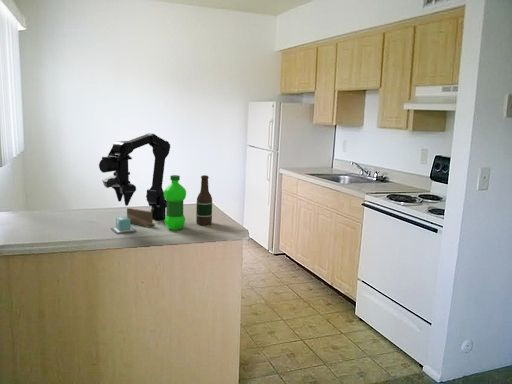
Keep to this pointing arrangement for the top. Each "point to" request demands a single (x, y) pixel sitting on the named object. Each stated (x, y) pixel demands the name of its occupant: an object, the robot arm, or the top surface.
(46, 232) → the top surface
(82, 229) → the top surface
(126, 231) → the pad
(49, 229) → the top surface
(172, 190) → the plastic bottle
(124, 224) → the letter cube
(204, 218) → the beer bottle
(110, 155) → the robot arm
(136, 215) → the brown wooden block
